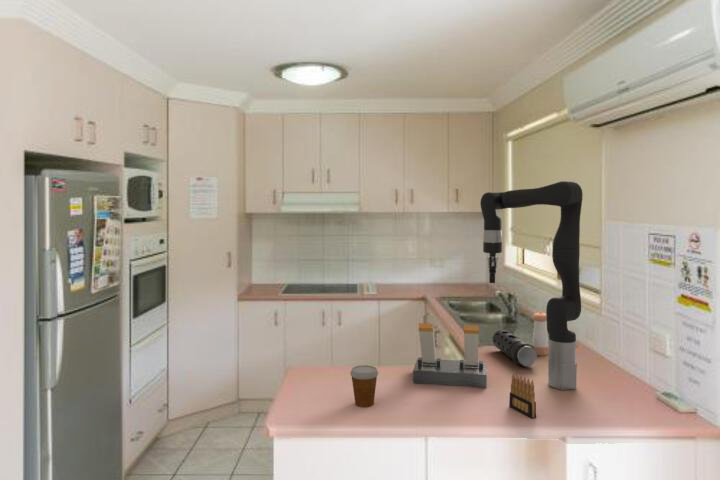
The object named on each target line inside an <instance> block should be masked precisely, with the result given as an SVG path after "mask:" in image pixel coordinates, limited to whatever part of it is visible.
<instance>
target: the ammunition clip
mask: <svg viewBox="0 0 720 480" xmlns="http://www.w3.org/2000/svg"><path fill="white" fill-rule="evenodd" d="M510 383H511V384H510V391H509V404H508V405H509V406H508V407H509V408H510V409H512V410H514V411H516V412H517V413H520V414H522V415H523V416H526V417H527V418H529V419H531V420H533V419H537V405H536V403H537V402H536V393H535V382H534V380H531V381H530V378H527V379H526V376H524V377H523V375H520V376H519V374H518V373H515V371H512V374H511V382H510Z"/></svg>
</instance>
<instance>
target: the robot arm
mask: <svg viewBox="0 0 720 480" xmlns="http://www.w3.org/2000/svg"><path fill="white" fill-rule="evenodd" d="M583 195H584V194H583V189H582V187H581V185H580V184H578V182H576V181H575V182H574V181H565V180H564V181H559V182H555V183H552V184H548V185H546V186H540V187H535V188H523V189H515V190H514V189H512V190H507V191H503V192H502V191H501V192H500V191H499V192H489V191H488V192H485V193H484V194H483V195H481V198H480V202H479V203H480V209H481V214H482V218H483V235H482V236H483V238H482V241H483V243H482V246H483V247H482V252H483V253H486V254H489V256H487V268H488V274H489V284H495V283H496V273H497V268H498V256H497V255H496V254H501V253H502V252H503V234H502V233H503V232H502V224H503V222H502V218H501V216H499V215H498V214H497V211H496V210H505V209H517V208H518V209H519V208H525V207H526V208H527V207H531V206H536V205H537V206H538V205H539V206H540V205H541V206H543V205H545V206H554V207H556V206H557V207H560V218H559V219H560V220H559V224H558V227H557V230H556V231H555V234H554V237H553V242H552V263H553V265H554V268H555V270H556V272H557V274H558V275H559V277H560V281H561V285H562V287H561V289H562V290H561V291H562V292H561V293H562V294H561V296H553V297H552V298H550V299H549V300H547V305H546V309H545V310H546V313H545V314H546V317H547V335H548V346H549V354H548V372H547V374H548V377H547V378H548V381H547V383H548V386H550V387H551V388H553V389H558V390H561V391H567V390H577V373H578V372H577V371H578V370H577V369H578V367H577V366H578V364H577V362H576V356H577V355H576V353H577V352H576V346H577V342H576V341H577V334H576V333H575V332H574V331H572V330H569V329H568V322H572V321H575V320H578V319H579V317H580V316H581V313H582V301H581V300H582V298H581V289H580V256H581V255H580V254H581V253H580V248H581V247H580V232H581V229H580V228H581V227H580V226H581V225H580V224H581V223H580V222H581V213H582V206H583V205H582V204H583V197H584V196H583Z"/></svg>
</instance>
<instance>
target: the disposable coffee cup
mask: <svg viewBox="0 0 720 480" xmlns="http://www.w3.org/2000/svg"><path fill="white" fill-rule="evenodd" d="M350 370H351V371H350V376H351V381H352V388H353V389H352V390H353V397H354V404H355V406H356V407H360V408H369V407H372V406H374V404H375V396H376V387H377V377H378V375H379V371H378V368H377V367H376V366H375V365H374V366H373V365H367V364H362V365H361V364H360V365H356V366H353V367H351V369H350Z"/></svg>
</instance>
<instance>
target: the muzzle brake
mask: <svg viewBox="0 0 720 480" xmlns="http://www.w3.org/2000/svg"><path fill="white" fill-rule="evenodd" d="M491 340H492V343H493V346H494V347H495V348H497V349H498V350H500V352H502V353H503V354H505V355H506V356H508V357H509V358H510V359H512V360H513V362H515V363H516V364H517V365H518V366H521V367H531V366H533V364H535V363H536V362H537V356H538V355H537V354H536V350H535V348H534V347H533V346H532V344H530V343H529V342H527V341H524V340H522V339H521V338H519V337H517V336H516V335H515V334H513V333H511V332H510V331H508V330H506V329H499V330H497V331H496V332H494V334H493V336H492V339H491Z"/></svg>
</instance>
